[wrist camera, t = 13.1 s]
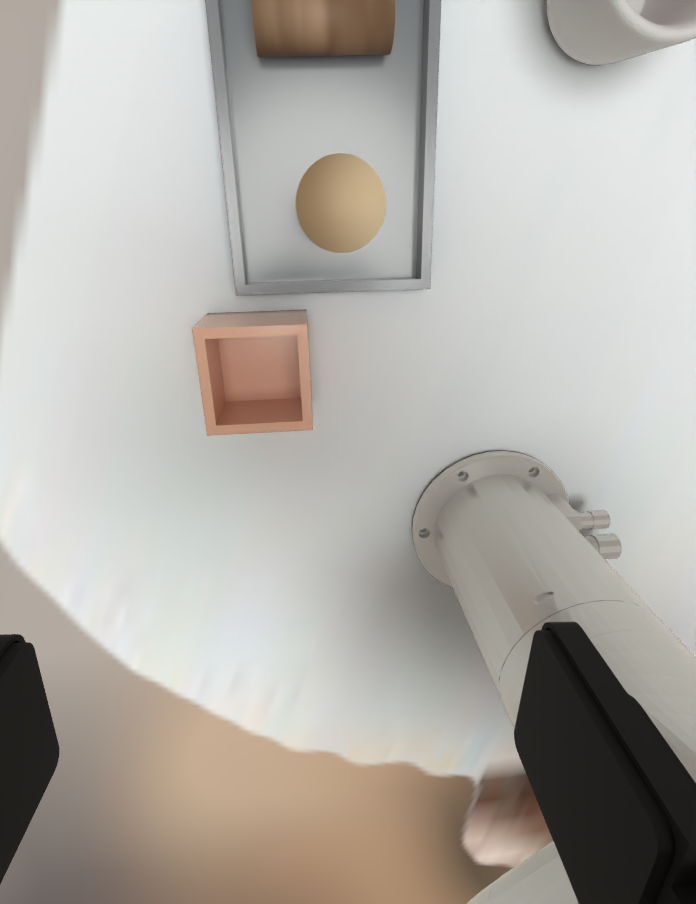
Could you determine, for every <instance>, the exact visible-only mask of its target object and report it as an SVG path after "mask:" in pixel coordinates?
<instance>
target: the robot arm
mask: <svg viewBox="0 0 696 904" xmlns="http://www.w3.org/2000/svg"><path fill="white" fill-rule="evenodd" d="M460 472H462V473H461V474H459V473H460ZM609 525H610V517H609V514H608V513H607V511H605V510H599V511H588V512H582V513H578V511H577V510H574V509H573V508H572V507H571V506H570V504H569V500H568V495H567V493H566V491H565V488H564V486H563V484H562V483H561V481H560V480H559V479H558V478H557V476H556V475H555V474H554V473H553V472H552V471H551V470H550V469H549V468H548V467H546V466H545V465H544V464H543V463H541V462H539V461H538V460H536V459H534V458H533V457H530V456H527V455H524V454H521V453H517V452H509V451H493V452H485V453H481V454H477V455H473V456H470V457H468V458H466V459H463V460H461V461H459V462H457V463H455V464H454V465H452V466H451V467H449V468H447V469H446V470H444V471H443V472H442V473H441V474H440V475H439V476H438V477H437V478H435V479H434V480H433V481H432V483H431V484H430V485H429V486H428V488H427V489H426V490H425V492H424V493H423V495H422V497H421V499H420V501H419V502H418V504H417V507H416V511H415V514H414V517H413V527H412V534H413V541H414V545H415V548H416V551H417V554H418V556H419V558H420V560H421V562H422V564H423V566H424V567H425V568H426V569H427V571H428V572H429V573H430V574H431V575H432V576H433V577H435V578H436V579H437V580H439V581H440V582H441V583H443V584H445V585H447V586H449V587H451V588H453V589H454V591H455V593H456V596H457V598H458V600H459V603H460V605H461V607H462V610H463V612H464V614H465V617H466V619H467V621H468V624H469V626H470V628H471V631H472V633H473V635H474V638H475V640H476V642H477V645H478V647H479V649H480V652H481V654H482V656H483V659H484V661H485V663H486V666H487V668H488V670H489V673H490V675H491V677H492V680H493V682H494V684H495V687H496V689H497V691H498V693H499V696H500V698H501V700H502V703H503V705H504V707H505V710H506V712H507V714H508V716H509V719H510V721H511V723H512V725H513V727H514V738H515V744H516V748H517V751H518V754H519V756H520V759H521V761H522V764H523V766H524V769H525V771H526V774H527V776H528V779H529V781H530V784H531V786H532V789H533V791H534V794H535V796H536V799H537V801H538V804H539V806H540V809H541V811H542V814H543V816H544V819H545V821H546V824H547V826H548V828H549V831H550V833H551V836H552V838H553V842H551V843H550V844H548V845H547V846H545V847H544V848H542V849H541V850H539V851H538V852H536V853H535V854H533V855H532V856H530V857H529V858H527V859H526V860H524V861H523V862H521V863H520V864H518V865H517V866H516V867H514V868H513V869H511V870H510V871H508V872H507V873H505V874H504V875H502V876H501V877H500V878H499V879H498V880H496V881H495V882H493V883H492V884H490V885H489V886H488V887H486V888H485V889H483V890H482V891H481V892H480V893H478V894H477V895H476V896H475V897H473V898H472V899H471V900H470V901H469V902H468V903H467V904H696V657H695V656H694V655H693V654H692V653H691V652H690V651H689V650H688V649H687V648H686V646H685V645H684V644H683V643H682V642H681V641H680V640H679V639H678V638H677V637H676V636H675V635H674V634H673V632H672V631H671V630H670V629H669V628H668V627H667V626H666V625H665V624H664V623H663V622H662V621H661V620H660V618H659V617H657V615H656V614H655V613H654V612H653V611H652V610H651V609H650V608H649V607H648V606H647V605H646V603H645V602H644V601H643V600H642V599H641V598H640V597H639V596H638V595H637V594H636V593H635V592H634V590H633V589H632V588H631V587H630V586H629V585H628V584H627V583H626V582H625V581H624V580H623V578H622V577H621V576H620V575H619V574H618V573H617V572H616V571H615V570H614V569H613V568H612V567H611V565H610V564H609V563H608V562H607V561H606V560H605V559H614V558H618V557H619V556H620V554H621V543H620V540H619V538H618V537H617V536H616V535H615V534H600V535H591V536H588V537H584V536H583V535H582V534H581V533H580V530H581V529H603V528H608V527H609ZM58 758H59V745H58V741H57V737H56V733H55V729H54V725H53V721H52V717H51V713H50V709H49V705H48V701H47V697H46V693H45V689H44V685H43V681H42V677H41V673H40V669H39V665H38V661H37V657H36V653H35V649H34V647H33V645H32V644H31V643H26V642H25V640H24V638H23V637H22V636H21V635H18V634H17V635H16V634H12V635H0V884H1V882H2V879H3V877H4V875H5V873H6V871H7V869H8V867H9V865H10V863H11V861H12V859H13V857H14V855H15V852H16V850H17V848H18V846H19V844H20V842H21V840H22V838H23V836H24V834H25V832H26V830H27V827H28V825H29V823H30V821H31V819H32V817H33V815H34V813H35V811H36V809H37V807H38V805H39V803H40V800H41V798H42V796H43V794H44V792H45V790H46V788H47V786H48V784H49V782H50V780H51V778H52V776H53V773H54V771H55V769H56V766H57V763H58Z"/></svg>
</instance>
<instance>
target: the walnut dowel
mask: <svg viewBox="0 0 696 904" xmlns="http://www.w3.org/2000/svg"><path fill="white" fill-rule="evenodd" d="M251 3H252V15H253V25H254V35H255V43H256V51H257V56H258V57H281V56H342V55H390V54H391V51H392V46H393V39H394V29H395V0H251Z"/></svg>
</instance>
